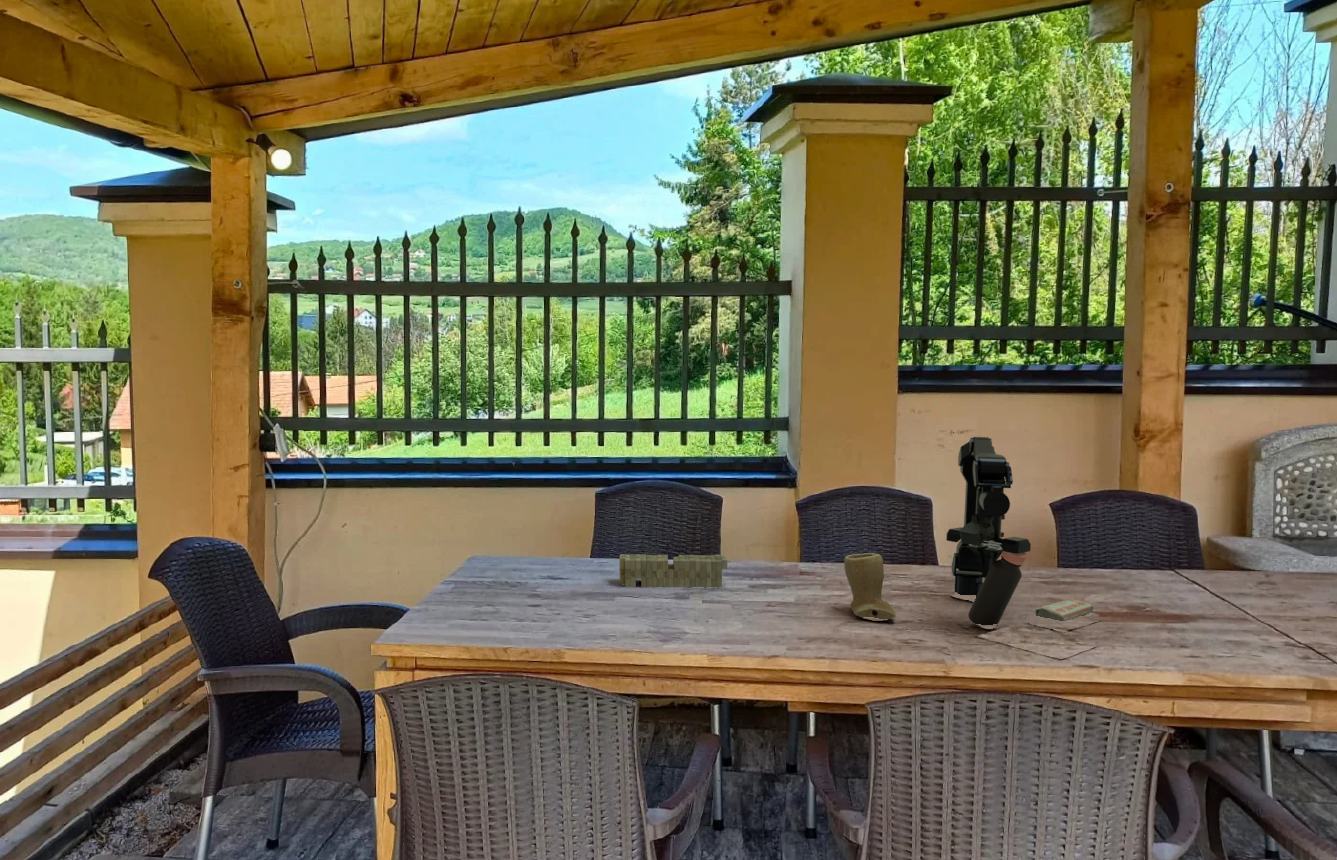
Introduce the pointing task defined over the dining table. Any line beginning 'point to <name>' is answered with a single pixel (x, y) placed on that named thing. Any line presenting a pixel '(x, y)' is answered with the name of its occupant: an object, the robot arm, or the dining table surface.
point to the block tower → (672, 570)
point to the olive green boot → (867, 585)
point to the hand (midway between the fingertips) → (985, 576)
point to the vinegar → (997, 589)
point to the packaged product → (1065, 610)
